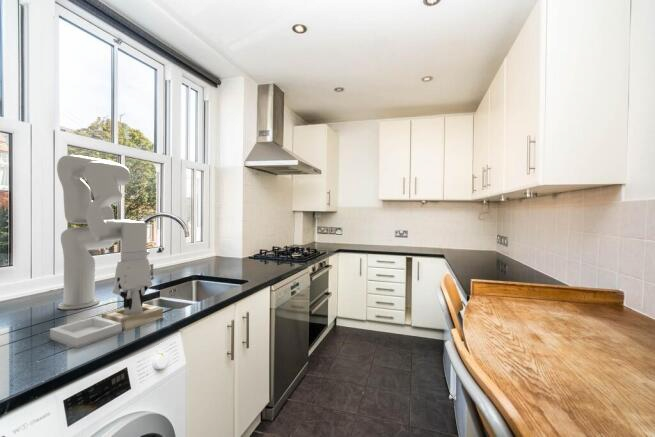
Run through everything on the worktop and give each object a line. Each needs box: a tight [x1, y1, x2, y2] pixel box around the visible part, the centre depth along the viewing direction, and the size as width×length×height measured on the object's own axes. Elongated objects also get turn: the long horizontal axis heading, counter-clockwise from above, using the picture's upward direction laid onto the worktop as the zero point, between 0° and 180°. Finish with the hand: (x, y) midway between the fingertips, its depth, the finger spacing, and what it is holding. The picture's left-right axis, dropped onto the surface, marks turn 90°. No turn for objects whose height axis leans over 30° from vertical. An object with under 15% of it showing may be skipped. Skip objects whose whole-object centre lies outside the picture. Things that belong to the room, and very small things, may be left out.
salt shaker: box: [123, 286, 143, 316], centre depth 101 cm, size 6×6×13 cm
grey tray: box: [49, 315, 123, 349], centre depth 88 cm, size 14×12×3 cm
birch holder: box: [101, 303, 164, 331], centre depth 101 cm, size 13×13×4 cm
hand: (133, 307), depth 101 cm, fingers closed on salt shaker, 3 cm apart
